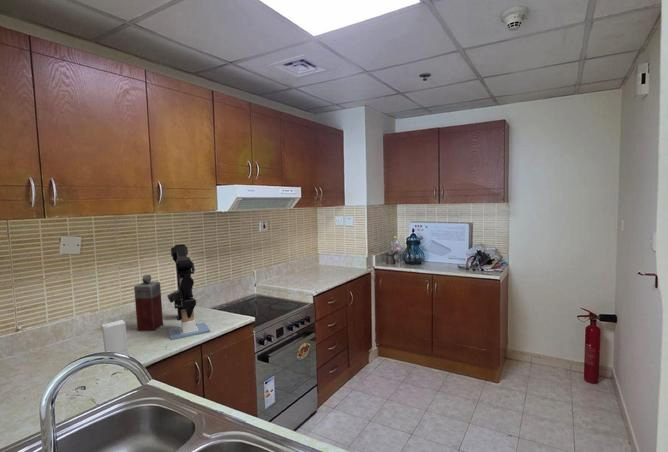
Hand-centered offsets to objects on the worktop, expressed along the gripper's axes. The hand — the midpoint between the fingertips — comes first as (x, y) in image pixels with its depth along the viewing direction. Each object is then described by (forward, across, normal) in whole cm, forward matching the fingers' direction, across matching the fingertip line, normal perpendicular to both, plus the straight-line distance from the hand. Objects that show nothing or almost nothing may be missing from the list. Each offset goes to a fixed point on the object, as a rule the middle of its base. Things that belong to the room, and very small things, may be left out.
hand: (187, 315), depth 184 cm
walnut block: (+2, 0, 0) cm, 2 cm away
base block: (+7, 0, 0) cm, 7 cm away
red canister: (+8, -19, -17) cm, 27 cm away
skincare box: (+8, +14, -31) cm, 35 cm away
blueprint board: (+8, 0, 0) cm, 8 cm away
